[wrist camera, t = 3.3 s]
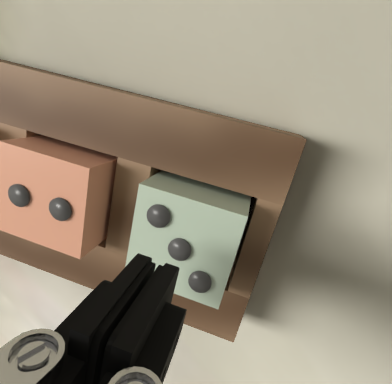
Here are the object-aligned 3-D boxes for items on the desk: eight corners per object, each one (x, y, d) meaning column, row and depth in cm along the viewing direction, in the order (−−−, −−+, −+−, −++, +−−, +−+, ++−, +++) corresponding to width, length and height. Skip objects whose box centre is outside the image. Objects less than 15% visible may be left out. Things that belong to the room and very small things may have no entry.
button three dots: (162, 170, 15) (137, 184, 12) (251, 196, 14) (248, 218, 11) (147, 247, 17) (122, 276, 14) (226, 274, 16) (217, 311, 13)
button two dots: (44, 135, 16) (-5, 140, 13) (121, 158, 16) (87, 169, 13) (40, 211, 18) (-4, 231, 15) (110, 235, 17) (78, 260, 14)
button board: (-57, 45, 18) (-105, 35, 16) (299, 134, 14) (306, 139, 12) (-45, 210, 22) (-82, 222, 20) (237, 312, 18) (233, 342, 16)
